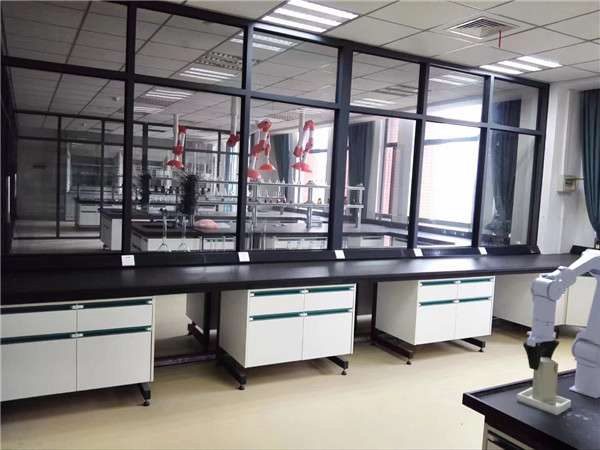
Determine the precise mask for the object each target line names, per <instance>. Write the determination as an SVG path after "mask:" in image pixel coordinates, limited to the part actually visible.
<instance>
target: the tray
mask: <svg viewBox="0 0 600 450" xmlns="http://www.w3.org/2000/svg"><path fill="white" fill-rule="evenodd" d="M532 391H533V386H532V387H529V388H527V389H525V390H523V391H521V392H519V393H517V394H516V401H517V402H520V403H522V404H525V405H528V406H530V407H532V408H536V409H538V410H542V411H544V412H546V413H550V414H553V415H554V416H555V415H556V416H558V415H560V414H562V413H563V412H565V411H567V410H568V409H569V408H571V405H572V400H571V399H569V398H565V397H563V396H559V395H556V406H552V405H550V404H547V403H544V402H541V401H538V400H535V399H534V398H533V397H532Z"/></svg>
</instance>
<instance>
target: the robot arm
mask: <svg viewBox="0 0 600 450" xmlns="http://www.w3.org/2000/svg"><path fill="white" fill-rule="evenodd" d="M586 273H589V274H590V275H591V276H592V277H594V278H595V280H596V285H595V290H594V294H593V296H592V297H593V298H592V301H591V302H592V303H591V306H590V311H589V314H588V320H587V322H586V327H585V329H584V330H583V331H581V332H578V333H577V334H576V335H575V336H576V337H575V339H574V341H572V343H571V348H570V351H571V355H572V357H574V361H576V364H575V365H576V368H575V377H574V385H573V386H571V387H569V388H568V390H570V391H573V392H575V393H579V394H582V395H585V396H588V397H591V398H594V399H599V398H600V250H598V249H592V248H587V249H586V250H585V251H582V253H581V255H580V258H579V259H577V260H576V261H574V262H573V263H572V264H570V266H559V267H557V269H556V270H554V271H553V272H551V273H549V274H547V275H546V276H545V277H538V278H535V279H534V280H533V281H532V283H531V286H530V287H529V290H530V294H531V296H532V299H531V300H532V303H533V310H532V321H531V322H532V323H531V331H527V332H526V335H528V336H529V337H527V338H526V339H527V340H526V341H525V342H523V343H522V346H523V349H524V351H525V353H526V358H527V361H528V366H529V367H528V368H529V369H532V370H533V371H534V370H538V368H539V364H540V360H541V357H548V358H550V359H552V358H553V355H554V352H555V350H556V349H557V347H558V346H559V344H560V341H559V340H555V339H556V337H557V332H555V320H556V313H557V311H556V309H557V301H559V300H560V299H561V297H562V296H563V293H564V292H565V290H567V289H568V288H570V287H572V286H573V285H574V284H575V283H576V282H577V278H578V277H579V276H582V275H584V274H586Z"/></svg>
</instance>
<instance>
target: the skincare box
mask: <svg viewBox="0 0 600 450" xmlns="http://www.w3.org/2000/svg"><path fill="white" fill-rule="evenodd" d="M532 373H533V375H532V387H533V391H532V397H533V398H534V399H535V400H538V401H541V402H544V403H547V404H550V405H552V406H556V395H557V393H558V373H559V363H558V362H556V361H554V360H553V359H552V358H551V359H550V358H548V357H541V360H540V364H539V368H538V370H534V369H533V372H532ZM557 396H558V395H557Z"/></svg>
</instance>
